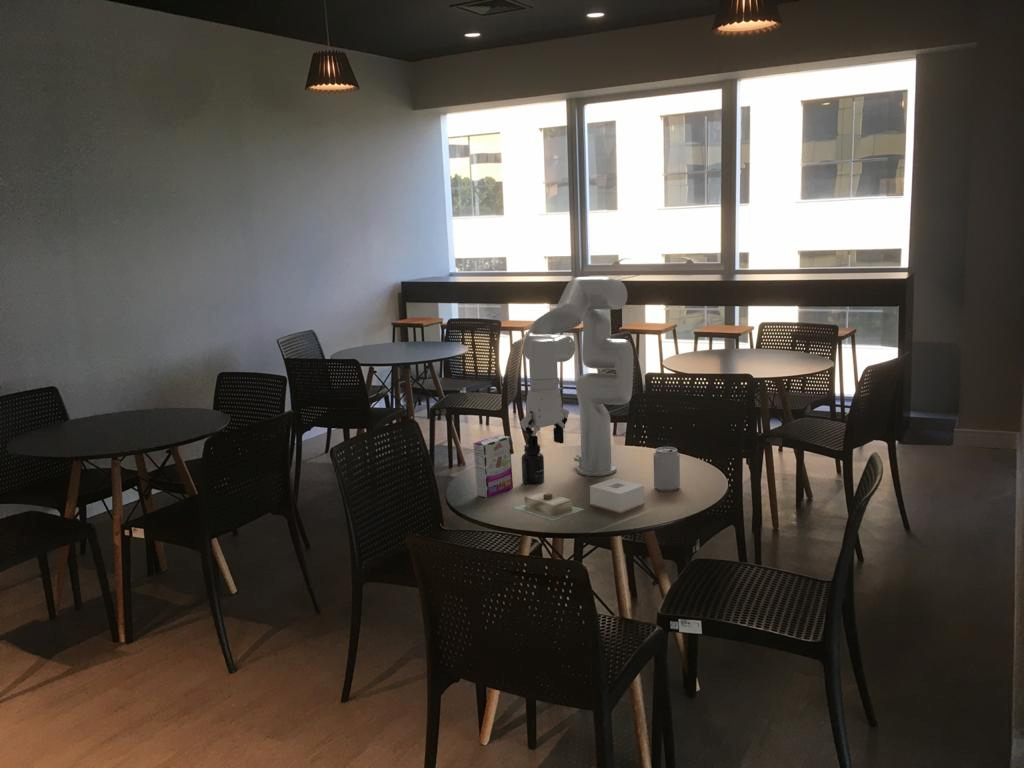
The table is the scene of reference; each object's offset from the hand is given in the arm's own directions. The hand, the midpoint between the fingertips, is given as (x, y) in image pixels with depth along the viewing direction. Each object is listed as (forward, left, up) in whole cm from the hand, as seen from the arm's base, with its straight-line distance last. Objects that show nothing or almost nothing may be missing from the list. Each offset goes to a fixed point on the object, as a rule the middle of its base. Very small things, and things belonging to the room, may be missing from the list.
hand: (546, 446), depth 229 cm
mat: (0, 0, -18) cm, 18 cm away
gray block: (+12, +15, -18) cm, 27 cm away
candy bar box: (-24, +1, -19) cm, 30 cm away
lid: (0, 0, -18) cm, 18 cm away
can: (+12, +37, -19) cm, 43 cm away
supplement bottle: (-22, +15, -19) cm, 33 cm away
